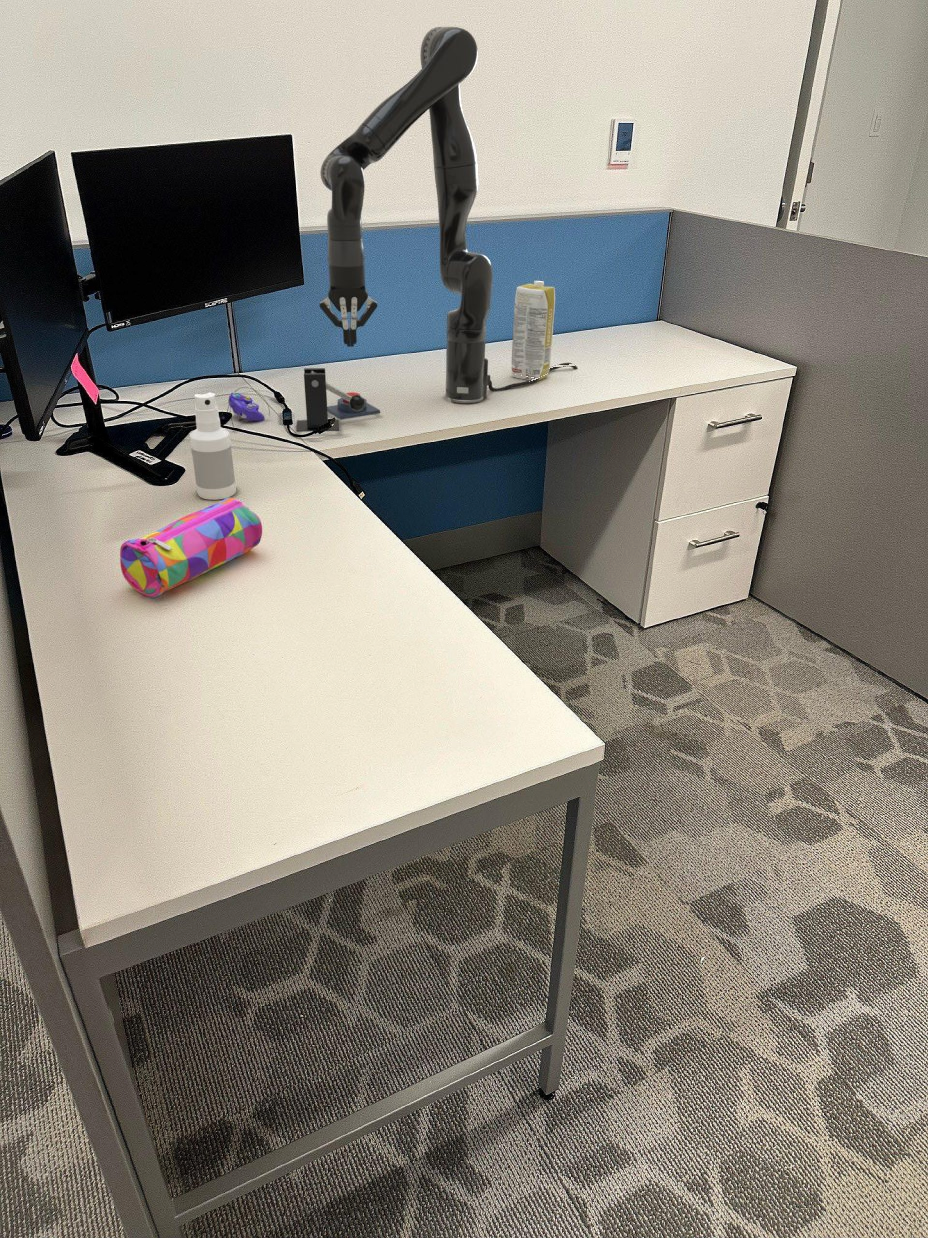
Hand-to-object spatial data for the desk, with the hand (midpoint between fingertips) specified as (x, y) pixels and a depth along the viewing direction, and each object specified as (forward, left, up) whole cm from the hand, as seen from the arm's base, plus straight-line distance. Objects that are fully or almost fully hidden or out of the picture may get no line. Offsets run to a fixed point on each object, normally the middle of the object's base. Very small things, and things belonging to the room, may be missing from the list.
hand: (350, 345), depth 191 cm
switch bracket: (+12, +6, -15) cm, 20 cm away
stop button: (+1, +1, -12) cm, 12 cm away
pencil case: (+56, +58, -16) cm, 82 cm away
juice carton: (-55, -6, -16) cm, 58 cm away
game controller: (+24, -5, -16) cm, 30 cm away
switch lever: (+8, +8, -8) cm, 14 cm away
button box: (+1, +1, -15) cm, 15 cm away
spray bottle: (+43, +30, -16) cm, 54 cm away
